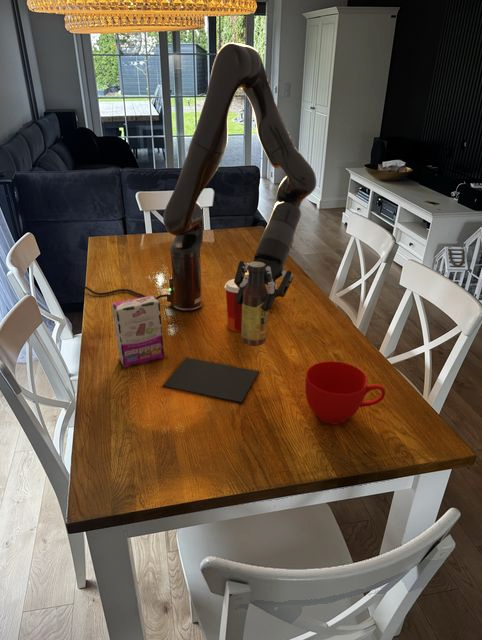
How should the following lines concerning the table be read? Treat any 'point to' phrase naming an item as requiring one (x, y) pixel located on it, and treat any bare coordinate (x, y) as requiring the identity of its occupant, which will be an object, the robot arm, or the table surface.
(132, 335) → the candy bar box
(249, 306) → the sauce bottle
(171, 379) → the placemat
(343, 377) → the ceramic cup
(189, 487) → the table surface
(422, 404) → the table surface
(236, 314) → the paper cup
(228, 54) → the robot arm
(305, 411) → the table surface
